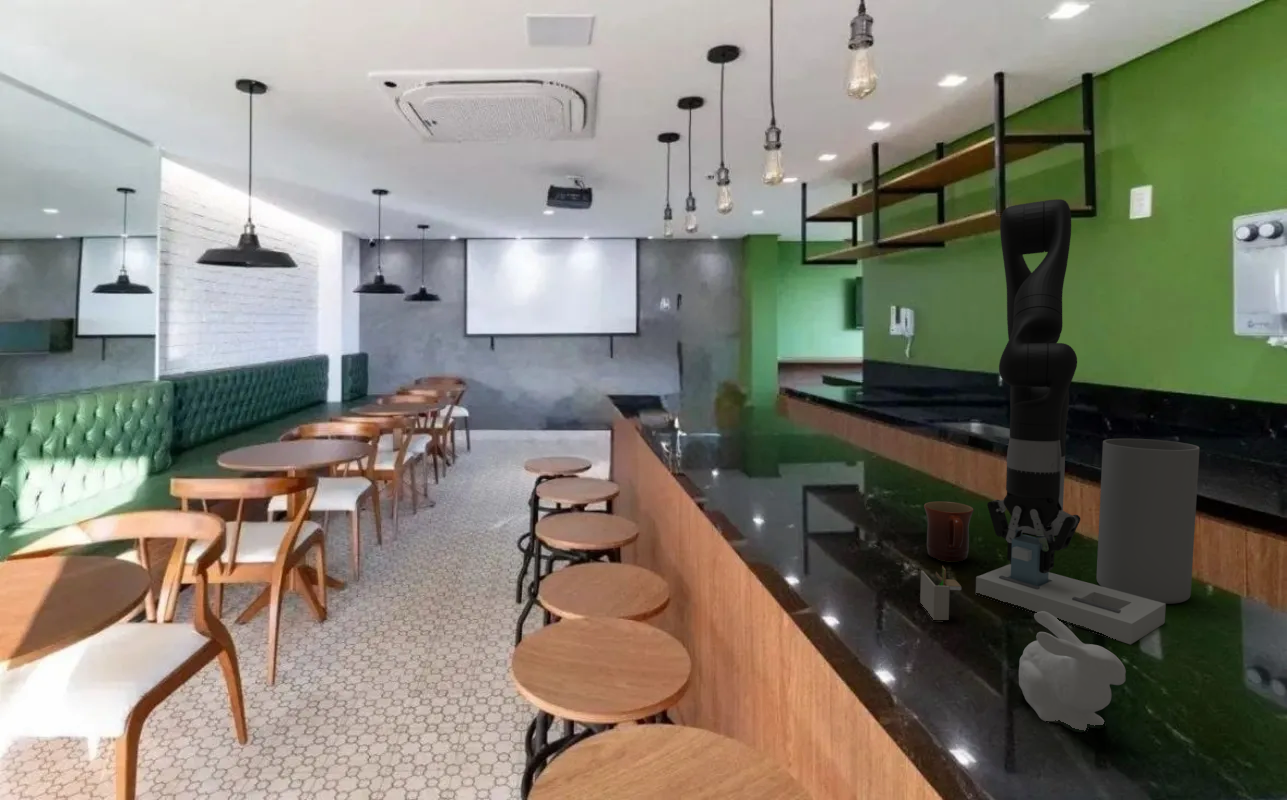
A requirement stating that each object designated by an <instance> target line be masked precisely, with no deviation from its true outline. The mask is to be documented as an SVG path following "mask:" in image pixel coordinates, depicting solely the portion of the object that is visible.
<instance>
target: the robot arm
mask: <svg viewBox="0 0 1287 800" xmlns="http://www.w3.org/2000/svg"><path fill="white" fill-rule="evenodd" d="M1071 212H1072V211H1071V208H1070V205H1069V203H1068V202H1067V201H1066V200H1065V199H1049V200H1040V201H1035V202H1028V203H1022V204H1015V205H1011V206H1008V207H1006V208H1005V209H1003V211H1002V213H1001V216H1000V223H999V228H1000V229H999V232H1000V233H999V234H1000V240H1001V241H1000V242H1001V245H1000V246H1001V251H1002V260H1003V267H1004V275H1005V282H1006V321H1007V322H1006V323H1007V337H1008V341H1007V342H1006V345H1005V347H1004V348H1003V349H1004V350H1003V351H1002V353H1001V357H1000V359H999V364H998V371H999V372H998V373H999V375H1000V378H1001V379H1002V381H1003V382H1004V383H1005V384H1007V385H1008V386H1010V388H1009V391H1010V395H1009V398H1010V399H1009V400H1010V401H1009V403H1010V404H1009V406H1010V413H1009V414H1010V416H1009V439H1008V440H1009V441H1008V446H1007V452H1006V453H1007V454H1006V458H1005V459H1006V477H1005V478H1006V481H1005V491H1006V494H1005V497H1004V498H1003V499H1002V500H1001V499H993V500H991V501H988V502H987V504H986V505H987V509H988V513H989V515H990V519H991V523H992V525H993V529H994V533H995V535H996V536H997V537H999V538H1000V537H1001V538H1003V539H1004V540H1005V541H1007V542H1006V543H1007V550H1006V551H1007V552H1006V553H1007V555H1006V557H1007V560H1008V561H1009V564H1011V552H1012V539H1013V538H1016V537H1019V536H1022V535H1023V533H1024V534H1029V535H1033V536H1036V538H1039V542H1040V546H1041V549H1042V550H1041V551H1040V567H1039V571H1040V572H1041V573H1044V574H1045V573H1047V572H1050V571H1052V570H1053V569H1054V566H1055V552H1056V551H1061V550H1063V549H1066V548H1068V547H1069V546H1070V543H1071V541H1072V539H1073V536H1074V535H1075V532H1076V530H1077V528H1078V526H1079V523H1080V522H1081V517H1080V515H1078V514H1073V515H1072V514H1070V513H1069V512H1067V511H1064V499H1065V498H1064V494H1065V493H1064V491H1065V473H1066V472H1065V468H1066V462H1065V461H1066V436H1067V435H1066V433H1067V424H1068V413H1069V405H1070V403H1069V402H1070V392H1069V388H1070V386H1071V383H1072V381H1073V378H1074V377H1075V373H1076V370H1077V367H1078V366H1077V365H1078V357H1077V354H1076V351H1075V350H1074V349H1073V347H1071V346H1070V345H1068V344H1067V343H1064V342H1063V343H1062V342H1059V340H1060V337H1061V335H1062V331H1063V324H1064V323H1063V289H1064V283H1065V277H1066V272H1067V266H1068V262H1069V261H1068V260H1069V254H1070V245H1071V238H1072V237H1071V236H1072V214H1071ZM1042 253H1046V255H1045V257H1044V258H1043V259H1042V261H1041V262H1040V264H1038V266H1036V268H1035V269H1034V270H1032V271H1031V270H1030V268H1029V267H1028V264H1027V262H1026V260H1025V258H1024V255H1032V254H1042ZM1006 510H1007V512H1008V513H1009V514H1010V516H1011V518H1010V521H1009V522H1008V519H1007V517H1006V516H1007V515H1006V513H1005V512H1006ZM1055 536H1056V538H1055Z"/></svg>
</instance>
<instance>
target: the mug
mask: <svg viewBox="0 0 1287 800" xmlns="http://www.w3.org/2000/svg"><path fill="white" fill-rule="evenodd" d="M923 508H924V511H925V514H926V518H927V531H926V549H927V554H928V555H929V556H930V557H931V558H932V557H933V558H936V559H940V560H945V561H962V562H963V560H964V561H965V560H966V559H968V554H969V550H970V547H969V546H970V545H969V543H970V541H969V540H970V534H969V533H970V531H969V530H970V529H969V528H970V527H969V526H970V522H971V518H972V515H973V513H974V508H973V507H972V506H970V505H967V504H964V503H961V502H953V501H929V502H926V503H924V505H923ZM933 558H932V559H933Z"/></svg>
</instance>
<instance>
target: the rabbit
mask: <svg viewBox="0 0 1287 800" xmlns="http://www.w3.org/2000/svg"><path fill="white" fill-rule="evenodd" d="M1033 614H1034V615H1033V617H1034V620H1035V621H1036V622H1037V623H1038V624H1040V625H1042V626H1043V627H1045V628H1046V629H1048V630H1049V631H1050V632H1051V633H1052V634H1053V635H1052V634H1051V633H1048V632H1045V631H1039V632H1037V633H1036V636H1035V637H1036V638H1035V639H1036V640H1033V641H1032V642H1030V643H1028V645H1026V647H1025V648H1024V650H1023V651H1022V655H1021V656H1020V658H1019V667H1018V686H1019V688H1020V689H1021V691H1022V694H1023V696H1024V697H1023V698H1024V699H1025V701H1026V703H1028V705H1029V706H1030V707H1031V708H1032V709H1033V710H1034V711H1035V713H1036V714H1037V716H1038V717H1039V719H1041V720H1042V721H1044V722H1046V721H1055V720H1056V721H1058V720H1060V721H1061V722H1064V723H1066V724H1068V725H1070V726H1071V727H1072V728H1075V729H1079V730H1084V731H1085V730H1086V728H1087V724H1090V725H1094V726H1095V725H1103V724H1104V722H1105V720H1104V719H1103V717H1101V715H1099V714H1097V713H1096V712H1098V711H1101V710H1103V709H1105V708H1106V707H1108V705H1109V704H1110V703H1111V700H1112V689H1111V687H1110V685H1114V686H1120V685H1123V684H1124V683H1125V682H1126V673H1127V671H1126V670H1127V669H1126V667H1125V665H1124V664H1123V662H1122V661H1121V659H1119V658H1118V657H1117V655H1116V654H1114V653H1113V652H1111V651H1110V650H1108V649H1106V648H1105V647H1103V646H1101V645H1097V644H1092V643H1091V644H1090V643H1084V642H1082V641H1081V640H1080V639H1079V638H1078V637H1077V636H1076V635H1075V633H1074V632H1073V631H1072V630H1071V629H1070V628H1069V627H1067V625H1065V623H1063V622H1061V621H1059V620H1058V619H1057V618H1056V617H1054V616H1053V615H1051V614H1050V613H1048V612H1045V611H1041V612H1037V613H1033Z"/></svg>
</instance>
